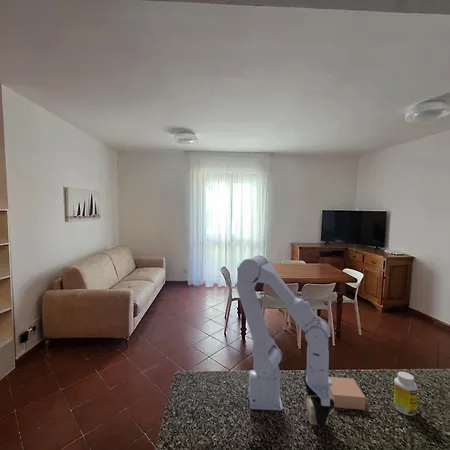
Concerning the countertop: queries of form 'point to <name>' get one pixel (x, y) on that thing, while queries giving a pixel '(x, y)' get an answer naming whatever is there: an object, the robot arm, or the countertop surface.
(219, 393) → the countertop surface
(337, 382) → the terracotta box
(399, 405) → the supplement bottle
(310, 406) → the metal block
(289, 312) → the robot arm
